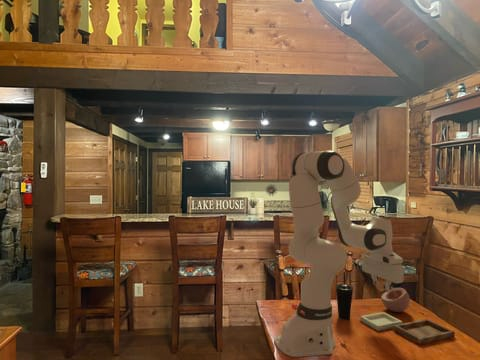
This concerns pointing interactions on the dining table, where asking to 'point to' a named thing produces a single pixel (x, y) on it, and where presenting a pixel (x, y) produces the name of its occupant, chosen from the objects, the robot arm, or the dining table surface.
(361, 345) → the dining table surface
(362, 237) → the robot arm
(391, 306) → the mortar and pestle
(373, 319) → the tray
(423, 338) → the dish
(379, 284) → the ball
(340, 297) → the drinking cup
